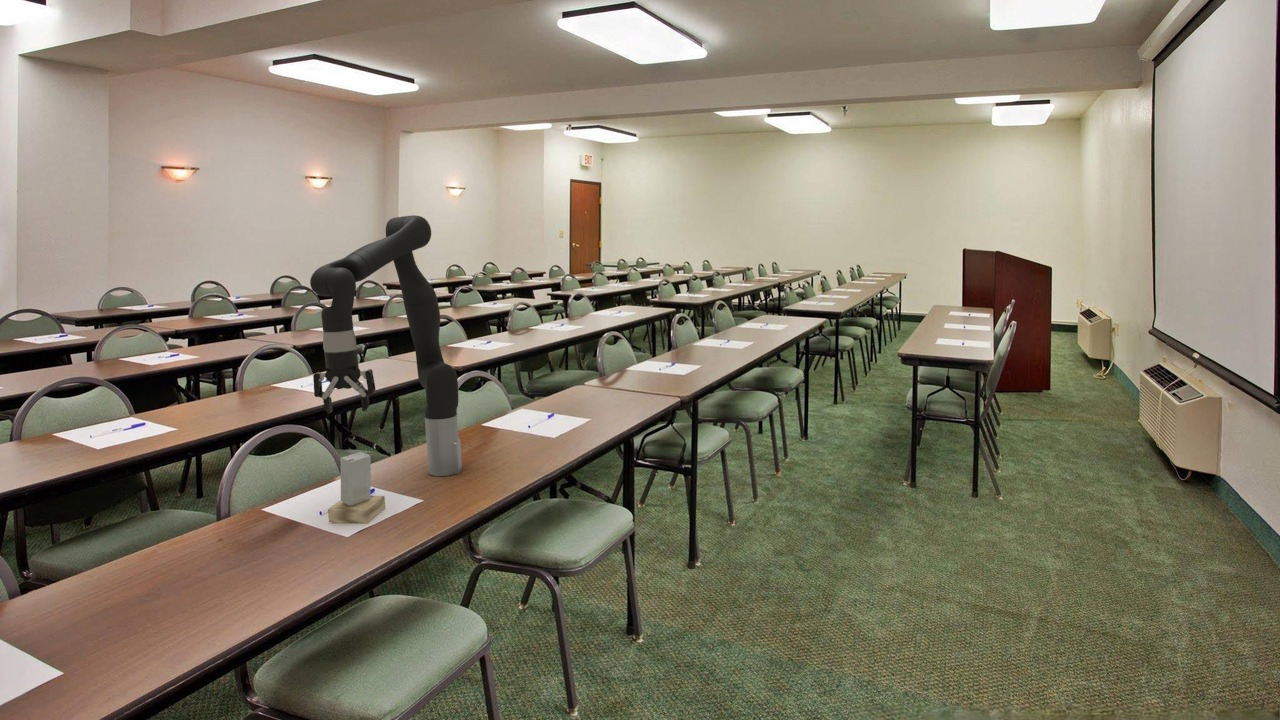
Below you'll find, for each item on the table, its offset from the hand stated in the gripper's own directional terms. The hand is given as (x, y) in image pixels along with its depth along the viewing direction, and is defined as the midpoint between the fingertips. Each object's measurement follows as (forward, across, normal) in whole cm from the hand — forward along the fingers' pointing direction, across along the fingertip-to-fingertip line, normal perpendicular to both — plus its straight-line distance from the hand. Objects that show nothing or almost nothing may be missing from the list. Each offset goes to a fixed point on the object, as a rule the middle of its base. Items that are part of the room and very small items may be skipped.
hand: (347, 411), depth 185 cm
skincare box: (+23, -1, +4) cm, 23 cm away
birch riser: (+27, -1, +4) cm, 27 cm away
